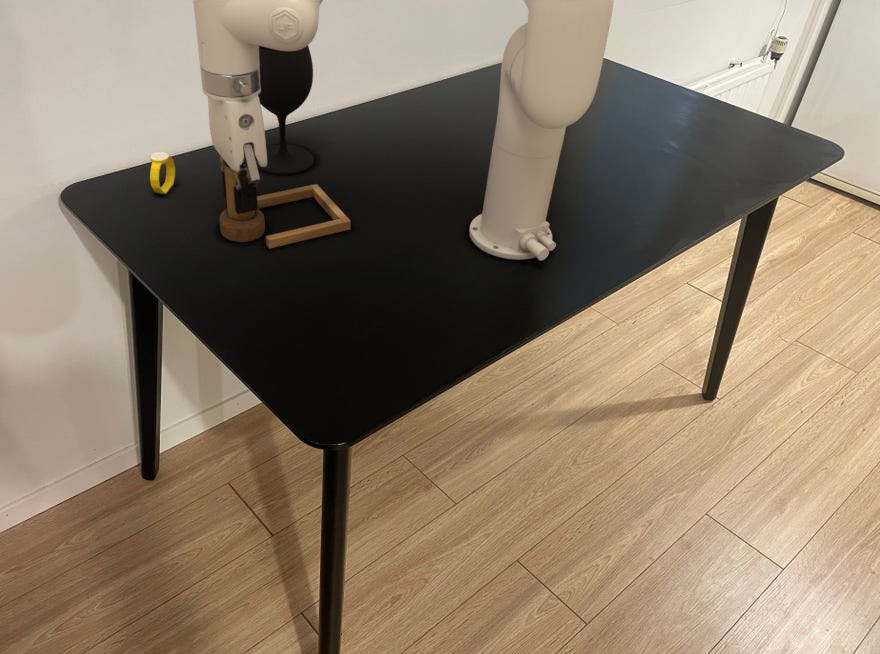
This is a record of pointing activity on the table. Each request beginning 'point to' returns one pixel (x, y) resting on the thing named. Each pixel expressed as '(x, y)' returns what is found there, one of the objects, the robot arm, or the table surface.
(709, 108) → the table surface
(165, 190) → the watch
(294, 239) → the frame
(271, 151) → the wine glass
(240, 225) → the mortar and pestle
